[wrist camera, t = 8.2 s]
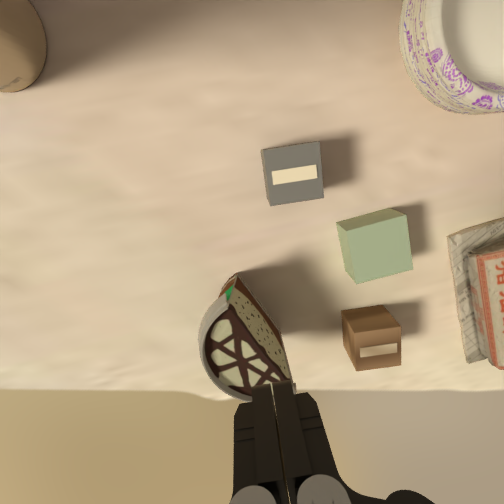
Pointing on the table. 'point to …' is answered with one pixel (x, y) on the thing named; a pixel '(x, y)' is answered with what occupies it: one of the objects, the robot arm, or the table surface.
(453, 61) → the paper bowls
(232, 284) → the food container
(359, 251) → the plain sage block
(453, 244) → the packaged product
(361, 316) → the walnut striped block
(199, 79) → the table surface
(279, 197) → the charcoal striped block
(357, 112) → the table surface
